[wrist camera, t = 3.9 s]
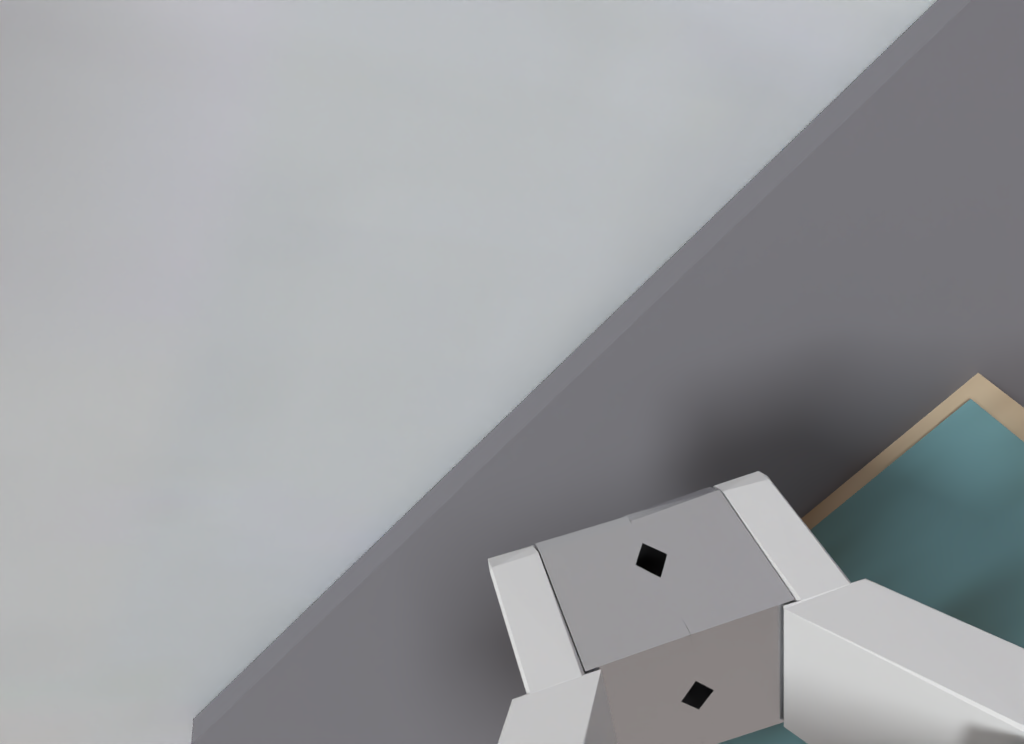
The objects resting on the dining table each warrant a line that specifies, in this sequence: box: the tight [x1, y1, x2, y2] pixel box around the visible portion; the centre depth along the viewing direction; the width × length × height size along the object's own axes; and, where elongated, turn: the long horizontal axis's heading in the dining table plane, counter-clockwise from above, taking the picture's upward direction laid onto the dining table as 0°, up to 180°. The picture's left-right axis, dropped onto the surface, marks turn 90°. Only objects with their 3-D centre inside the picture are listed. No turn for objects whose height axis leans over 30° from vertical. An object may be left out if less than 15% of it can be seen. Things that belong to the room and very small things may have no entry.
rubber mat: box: [191, 0, 1024, 744], centre depth 21 cm, size 22×24×1 cm
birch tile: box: [718, 373, 1024, 744], centre depth 16 cm, size 10×3×7 cm, turn 134°
